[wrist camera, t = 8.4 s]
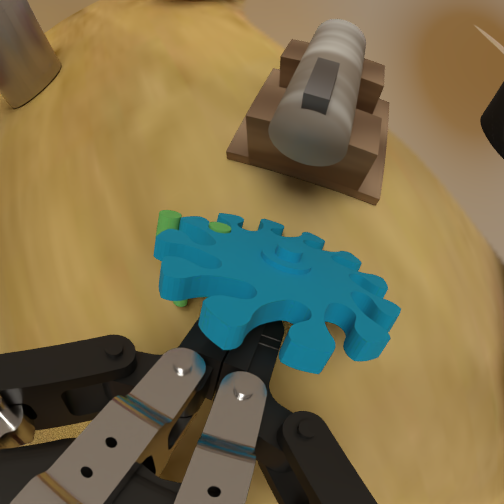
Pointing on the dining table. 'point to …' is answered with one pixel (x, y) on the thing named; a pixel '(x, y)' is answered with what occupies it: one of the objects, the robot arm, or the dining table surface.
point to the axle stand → (321, 115)
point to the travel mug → (495, 121)
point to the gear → (272, 287)
